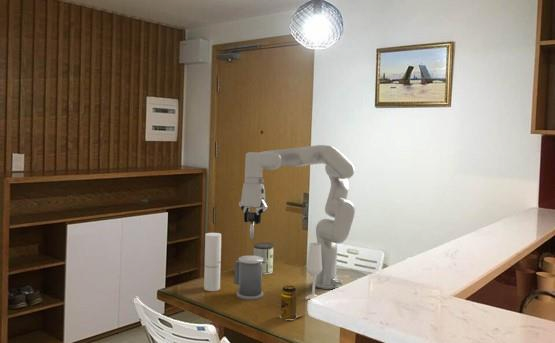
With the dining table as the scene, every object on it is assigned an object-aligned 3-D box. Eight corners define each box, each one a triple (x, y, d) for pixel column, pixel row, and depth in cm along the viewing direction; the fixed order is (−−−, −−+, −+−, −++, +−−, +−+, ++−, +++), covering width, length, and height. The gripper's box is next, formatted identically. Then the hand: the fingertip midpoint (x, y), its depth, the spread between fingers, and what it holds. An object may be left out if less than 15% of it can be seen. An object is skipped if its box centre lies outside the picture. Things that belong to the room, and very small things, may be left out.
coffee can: (254, 268, 259) (255, 242, 258) (273, 269, 258) (274, 243, 257) (251, 273, 249) (252, 246, 248) (271, 275, 248) (272, 247, 247)
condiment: (275, 317, 192) (277, 287, 191) (289, 311, 198) (290, 282, 197) (290, 322, 187) (291, 291, 186) (304, 316, 194) (305, 286, 193)
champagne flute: (302, 296, 217) (305, 242, 215) (316, 294, 220) (318, 242, 218) (309, 301, 211) (312, 246, 209) (323, 299, 214) (326, 245, 212)
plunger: (259, 237, 215) (260, 212, 214) (253, 239, 211) (253, 213, 210) (250, 236, 218) (251, 210, 217) (243, 238, 214) (244, 212, 213)
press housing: (268, 294, 218) (269, 258, 217) (253, 301, 208) (254, 263, 207) (243, 288, 225) (244, 253, 224) (227, 295, 216) (228, 258, 214)
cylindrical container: (222, 287, 226) (224, 233, 224) (214, 292, 219) (215, 236, 217) (209, 285, 229) (210, 232, 227) (201, 289, 222) (202, 234, 220)
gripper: (274, 182, 211) (273, 223, 212) (242, 178, 220) (241, 219, 221) (265, 183, 205) (263, 226, 206) (232, 179, 214) (231, 221, 215)
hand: (252, 222), depth 214 cm, fingers closed on plunger, 5 cm apart
